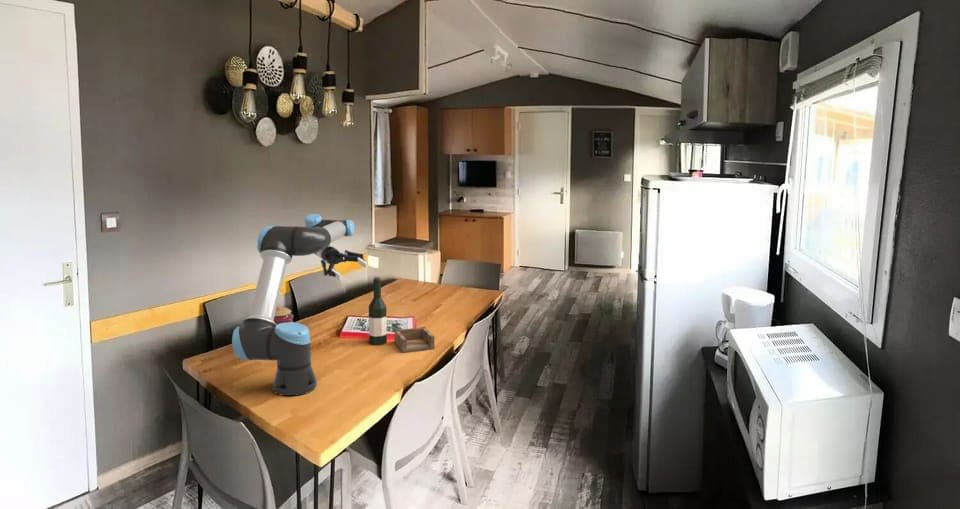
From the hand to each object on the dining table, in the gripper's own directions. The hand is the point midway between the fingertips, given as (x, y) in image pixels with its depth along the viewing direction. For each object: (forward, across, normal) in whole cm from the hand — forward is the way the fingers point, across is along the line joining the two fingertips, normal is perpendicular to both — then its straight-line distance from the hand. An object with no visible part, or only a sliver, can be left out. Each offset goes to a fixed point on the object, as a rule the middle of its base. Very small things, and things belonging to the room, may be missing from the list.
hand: (353, 271), depth 245 cm
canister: (-14, +34, -29) cm, 47 cm away
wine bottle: (+15, +1, -31) cm, 34 cm away
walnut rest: (+29, -8, -30) cm, 42 cm away
